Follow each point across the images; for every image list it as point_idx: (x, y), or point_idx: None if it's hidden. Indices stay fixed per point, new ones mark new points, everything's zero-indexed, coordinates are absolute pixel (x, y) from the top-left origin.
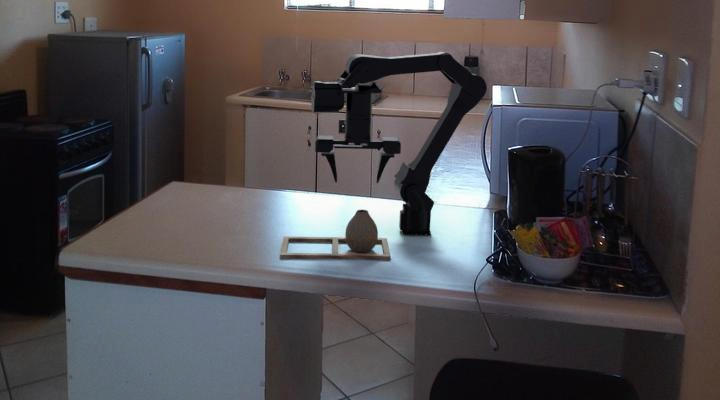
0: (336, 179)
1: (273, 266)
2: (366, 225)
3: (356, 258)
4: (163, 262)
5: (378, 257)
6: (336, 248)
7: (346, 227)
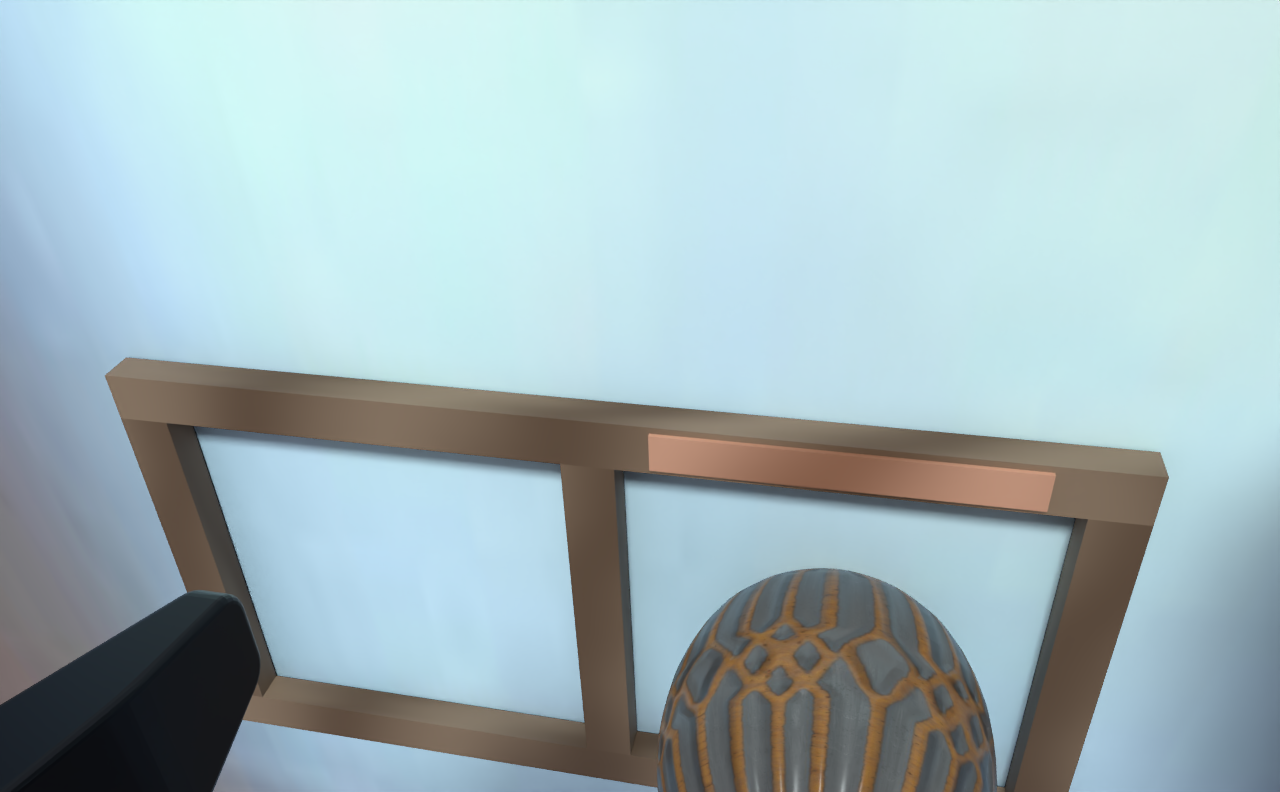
0: (216, 750)
1: (258, 787)
2: None
3: None
4: None
5: None
6: (611, 669)
7: (657, 781)
